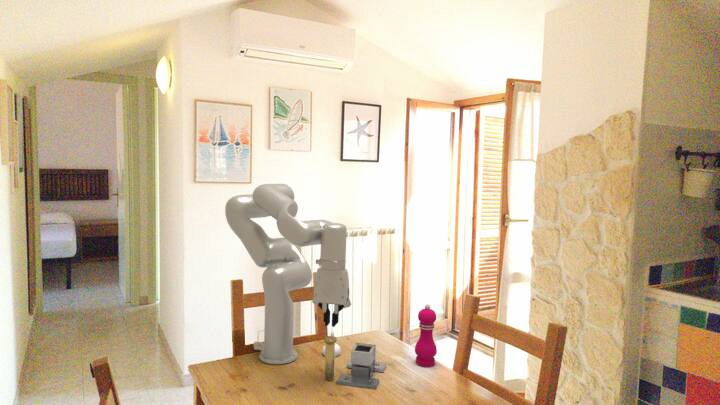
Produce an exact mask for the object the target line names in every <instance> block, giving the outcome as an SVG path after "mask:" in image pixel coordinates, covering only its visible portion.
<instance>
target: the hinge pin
mask: <svg viewBox="0 0 720 405" xmlns="http://www.w3.org/2000/svg"><path fill="white" fill-rule="evenodd" d="M336 342H337V337H336V336H335V335H334V336H331V335H326V336H324V337H323V343H324V344H325V356H324V381H326V382H333V381H334V380H335V357H334V353H335V343H336Z"/></svg>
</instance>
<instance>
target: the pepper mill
mask: <svg viewBox="0 0 720 405" xmlns="http://www.w3.org/2000/svg"><path fill="white" fill-rule="evenodd" d="M417 319H418V321H419V323H418V324H419V325H418V328H419V330H420V333H419V334H420V335H419V338H418V339H417V342H416V344H415V347H414V352H415V353H414V354H415V355H416V356H415V364H416V365H417V366H419V367H424V368H428V367H429V368H430V367H433V366H434V365H436V364H435V363H436V362H435V361H436V359H435V356H436V355H437V345H436V342H435V341H434V337H433V332H434V329H435V322H436V321H437V313H436V312H435V310H433V309H432V308H431V305H430V304H428V303H427V304H425V305H424V308H421V310H419V312H418V314H417Z"/></svg>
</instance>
